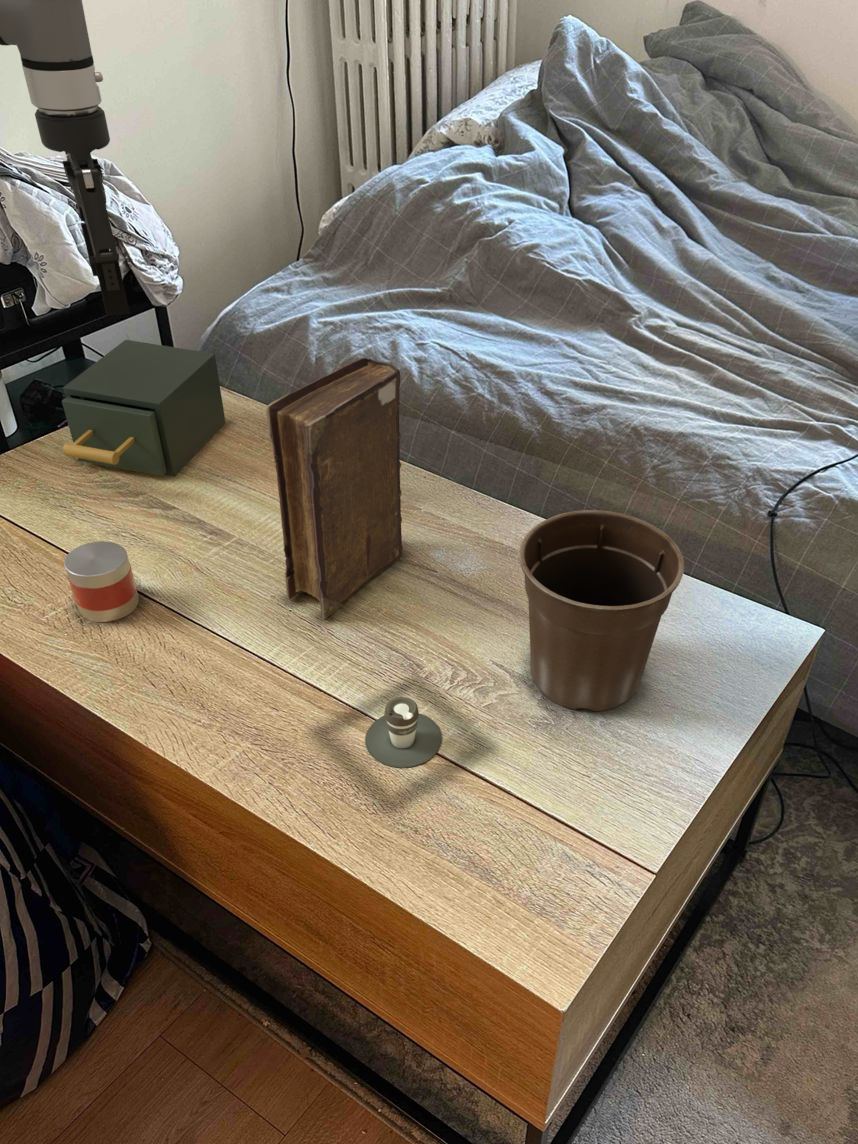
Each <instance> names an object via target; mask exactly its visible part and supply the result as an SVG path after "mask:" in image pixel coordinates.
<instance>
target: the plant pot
mask: <svg viewBox="0 0 858 1144" xmlns="http://www.w3.org/2000/svg"><path fill="white" fill-rule="evenodd" d="M518 553H519V554H518V559H519V560H518V561H519V565H520V569H521V570H522V573H523V574H524V589H525V594H526V596H527V598H528V616H529V617H528V621H529V623H528V624H529V625H528V626H529V653H530V655H529V657H530V660H529V664H530V675H531V678H532V681H533V683H534V684H535V686H536V687H537V689H538V690H539V691H540V692H541V693H542V694H543V695H544V696H545V697H546V698H548V699H549V700H551V701H552V702H554V703H556V704H557V705H559V706H561V707H564V708H567V709H571V710H574V711H575V710H579V709H585V710H590V711H592V712H602V711H607V710H612V709H614V708H617V707H619V706H621V705H623V704H624V703H626V702H628V701H629V700H631V698H632V697H634V696H635V695H636V693H637V691H638V689H639V688H640V686H641V683H642V679H643V676H644V673H645V669H646V666H647V664H648V660H649V656H650V653H651V650H652V647H653V643H654V640H655V638H656V634H657V631H658V628H659V625H660V622H661V619H662V616H663V615H664V613H665V612H666V611H667V609H668V607H669V605H670V602H671V598H672V595H673V592H675V590H677V588H678V587H679V585H680V583H681V581H682V578H683V576H684V572H685V561H684V557H683V554H682V552H681V550H680V548H679V546H678V545H677V544H676V542H675V541H674V540H673V539H672V538H671V537H670V536H669V535H668V534H667V533H666V532H665V531H663V530H662V529H661V528H658V527H657V526H655V525H653V524H651V523H649V522H647V521H645V520H643V519H641V518H638V517H635V516H631V515H628V514H623V513H621V512H615V511H609V510H600V509H582V510H574V511H568V512H564V513H560V514H557V515H554V516H551V517H549V518H545V520H542V521H541V522H539V523H537V524H536V525H534V526H533V527H532V528H530V530H529V531H528V532H527V533H526V534H525V536H524V537H523V539H522V541H521V543H520V546H519V551H518Z"/></svg>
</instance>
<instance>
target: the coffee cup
mask: <svg viewBox="0 0 858 1144" xmlns="http://www.w3.org/2000/svg"><path fill="white" fill-rule="evenodd" d="M383 714H384V715H382V716H381V717H379V718H377V719H375V720H374V721H373V722H372V724H371V725H370V726H369V727H368V729H367V730H366V733H365V738H364V742H365V747H366V749H367V752H368V753H369V755H370V756H371V757H372V758H373V759H375V760H376V761H377V762H379V763H381V764H383V765H386V766H389V767H393V768H400V769H401V768H403V769H404V768H413V767H417V766H420V765H422V764H425V763H427V762H429V761H430V760H431V759H433V758H434V757H435V756H436V755H437V754H438V753H439V751H440V749H441V746H442V742H443V734H442V731H441V729H440V727H439V725H438V724H437V723H436V721H434V720H433V719H432V718H430V717H429V716H427V715H425V714H423V713H420V712H419V708H418V704H417V702H416V701H415V700H413V699H412V698H410V697H406V696H397V697H394V698H392V699H390V700H389V701H387V703H386V705H385V708H384V713H383Z"/></svg>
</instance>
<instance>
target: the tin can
mask: <svg viewBox="0 0 858 1144" xmlns="http://www.w3.org/2000/svg"><path fill="white" fill-rule="evenodd" d="M63 566H64V569H65V572H66V575H67V580H68V582H69V586H70V589H71V592H72V595H73V599H74V601H75V604H76V606H77V609H78V613H79V614H80V616H81V617H83V618H84V619H86V620H88V621H91V622H95V623H110V622H114V621H117V620H121V619H123V618H125V617H128V616H129V615H130V614H131V613H133V612H134V611H135V610H136V609H137V607H138V605H139V603H140V601H139V600H140V598H139V593H138V589H137V586H136V581H135V577H134V573H133V569H132V564H131V563H130V560H129V556H128V552H127V550H126V549H125V547H124V546H122V545H121V544H119V543H116V542H113V541H108V540H107V541H106V540H105V541H104V540H103V541H102V540H100V541H92V542H88V543H84V544H81V545H79V546H77V547H75V548H73V549H72V550H71V551H69V553H68V554H67V555H66V556H65V558H64V561H63Z"/></svg>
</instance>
